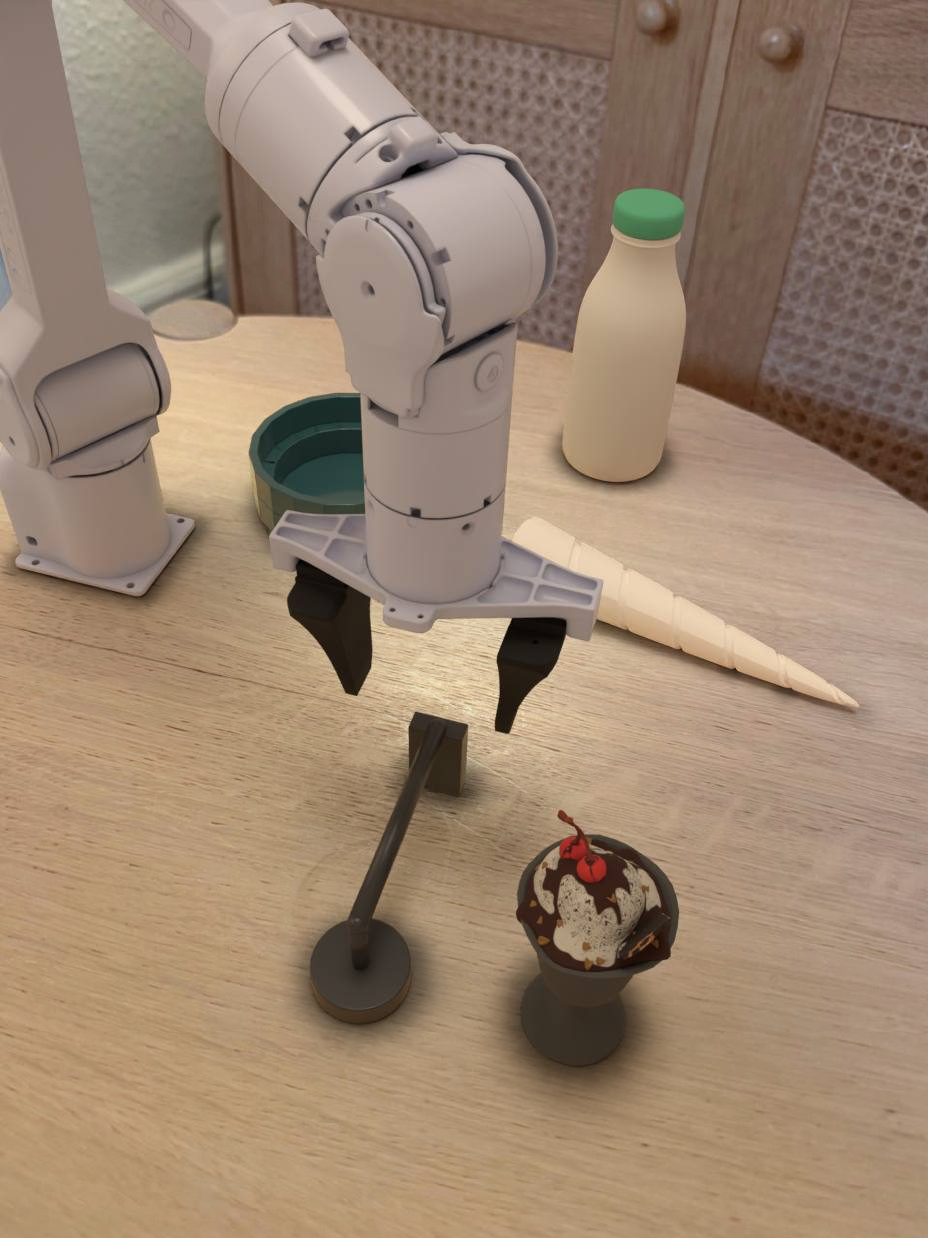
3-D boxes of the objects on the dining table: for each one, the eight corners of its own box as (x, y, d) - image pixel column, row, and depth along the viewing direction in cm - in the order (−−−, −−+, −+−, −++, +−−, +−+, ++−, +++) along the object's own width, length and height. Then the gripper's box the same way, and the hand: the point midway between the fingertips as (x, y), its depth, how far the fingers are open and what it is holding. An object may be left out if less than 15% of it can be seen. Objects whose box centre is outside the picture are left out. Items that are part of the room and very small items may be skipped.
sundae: (493, 955, 53) (513, 769, 43) (627, 946, 54) (679, 761, 43) (508, 1090, 49) (534, 918, 38) (655, 1079, 49) (720, 907, 39)
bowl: (225, 538, 75) (216, 480, 72) (300, 434, 84) (295, 378, 81) (405, 579, 73) (404, 522, 69) (462, 467, 82) (464, 411, 78)
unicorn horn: (836, 753, 63) (860, 698, 60) (492, 593, 72) (495, 538, 69) (862, 702, 66) (886, 647, 63) (528, 555, 75) (533, 500, 72)
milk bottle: (666, 487, 81) (719, 229, 67) (563, 483, 81) (595, 224, 67) (655, 427, 86) (701, 178, 72) (558, 424, 86) (586, 173, 72)
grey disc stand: (392, 1037, 50) (390, 980, 46) (296, 1007, 51) (286, 950, 47) (481, 785, 61) (485, 721, 57) (400, 764, 62) (399, 700, 58)
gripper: (225, 496, 42) (260, 722, 51) (591, 578, 39) (557, 800, 49) (296, 400, 47) (317, 623, 56) (627, 467, 44) (589, 689, 54)
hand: (431, 698), depth 53 cm, fingers open, 7 cm apart
